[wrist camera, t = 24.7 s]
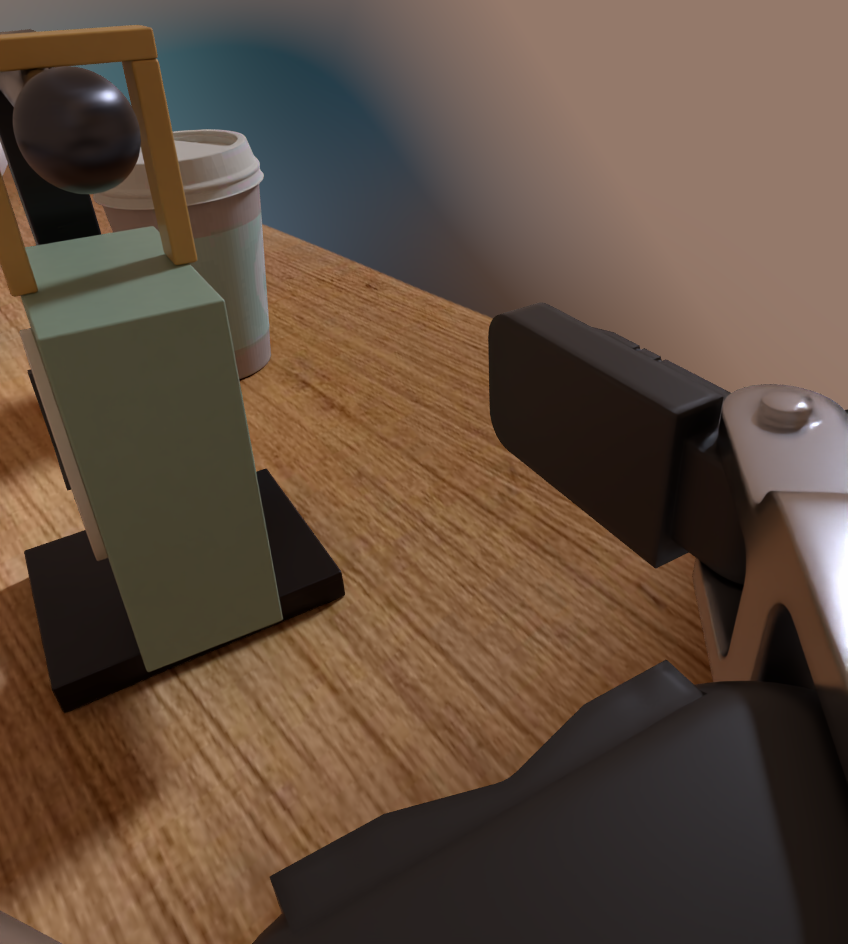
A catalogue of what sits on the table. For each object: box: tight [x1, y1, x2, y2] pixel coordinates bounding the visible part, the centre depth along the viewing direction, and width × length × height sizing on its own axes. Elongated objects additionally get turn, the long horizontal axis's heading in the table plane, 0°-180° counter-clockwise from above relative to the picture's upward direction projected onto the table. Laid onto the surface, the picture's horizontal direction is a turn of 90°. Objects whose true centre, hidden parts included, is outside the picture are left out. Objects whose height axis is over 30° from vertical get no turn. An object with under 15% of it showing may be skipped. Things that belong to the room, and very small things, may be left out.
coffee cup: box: [93, 130, 271, 379], centre depth 42 cm, size 8×8×12 cm
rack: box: [0, 29, 345, 713], centre depth 22 cm, size 10×14×18 cm
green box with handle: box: [0, 25, 283, 672], centre depth 21 cm, size 5×7×15 cm, turn 29°
